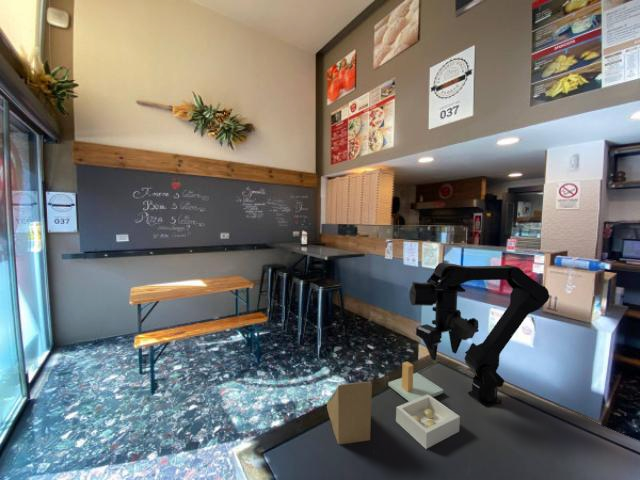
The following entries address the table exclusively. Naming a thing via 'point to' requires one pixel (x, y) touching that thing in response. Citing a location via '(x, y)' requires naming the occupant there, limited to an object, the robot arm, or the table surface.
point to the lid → (413, 384)
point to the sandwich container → (351, 412)
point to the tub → (427, 420)
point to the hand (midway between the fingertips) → (444, 356)
